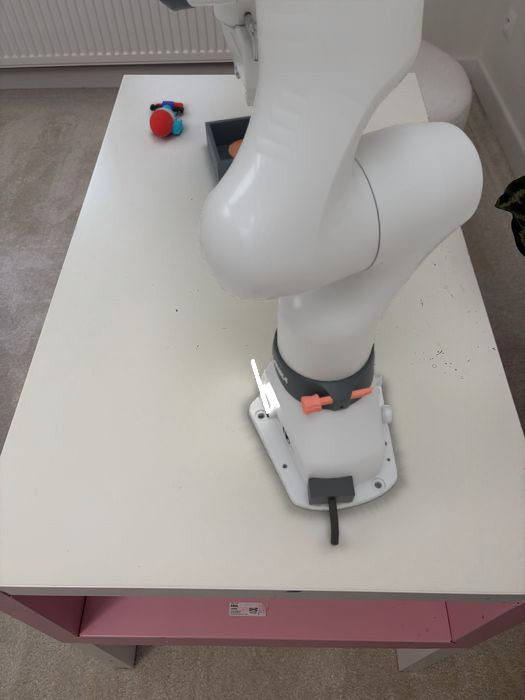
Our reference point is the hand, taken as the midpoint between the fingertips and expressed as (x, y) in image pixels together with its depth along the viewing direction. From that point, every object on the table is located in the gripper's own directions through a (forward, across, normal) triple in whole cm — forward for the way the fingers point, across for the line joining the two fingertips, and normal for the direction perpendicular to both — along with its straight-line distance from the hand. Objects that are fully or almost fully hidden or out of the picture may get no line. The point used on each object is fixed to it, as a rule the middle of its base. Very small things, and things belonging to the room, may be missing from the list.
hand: (245, 89), depth 91 cm
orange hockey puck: (+14, +1, 0) cm, 14 cm away
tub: (+15, +1, 0) cm, 15 cm away
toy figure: (+15, +18, +14) cm, 27 cm away
